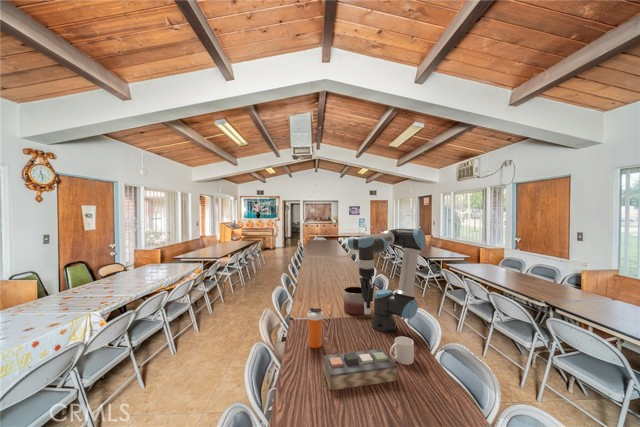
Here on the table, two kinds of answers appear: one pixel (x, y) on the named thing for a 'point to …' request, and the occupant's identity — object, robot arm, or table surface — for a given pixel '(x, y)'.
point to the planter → (353, 301)
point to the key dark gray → (350, 359)
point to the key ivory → (365, 358)
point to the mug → (403, 350)
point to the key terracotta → (335, 362)
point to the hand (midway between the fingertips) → (367, 313)
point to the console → (359, 371)
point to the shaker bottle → (315, 327)
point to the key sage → (380, 357)
